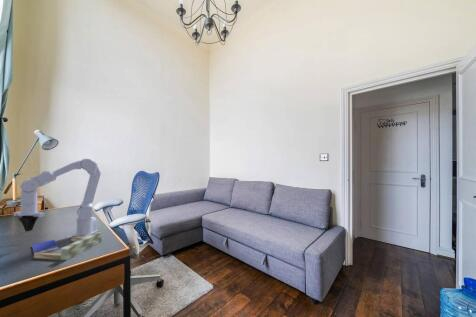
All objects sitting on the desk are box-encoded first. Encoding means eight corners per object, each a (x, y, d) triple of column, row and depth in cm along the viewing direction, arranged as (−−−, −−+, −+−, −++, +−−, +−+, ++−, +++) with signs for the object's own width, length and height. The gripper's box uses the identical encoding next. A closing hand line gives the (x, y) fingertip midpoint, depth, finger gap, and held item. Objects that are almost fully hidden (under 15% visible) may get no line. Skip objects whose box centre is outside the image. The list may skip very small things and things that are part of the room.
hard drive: (58, 246, 95) (54, 239, 103) (34, 252, 89) (32, 244, 97) (58, 249, 95) (54, 242, 103) (34, 256, 89) (32, 247, 97)
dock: (74, 239, 105) (74, 230, 105) (101, 241, 104) (101, 232, 104) (34, 258, 86) (34, 246, 86) (67, 260, 85) (67, 248, 85)
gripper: (6, 204, 93) (5, 233, 93) (33, 206, 92) (32, 234, 92) (23, 201, 100) (23, 227, 100) (48, 202, 99) (48, 229, 99)
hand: (28, 230), depth 97 cm, fingers closed
